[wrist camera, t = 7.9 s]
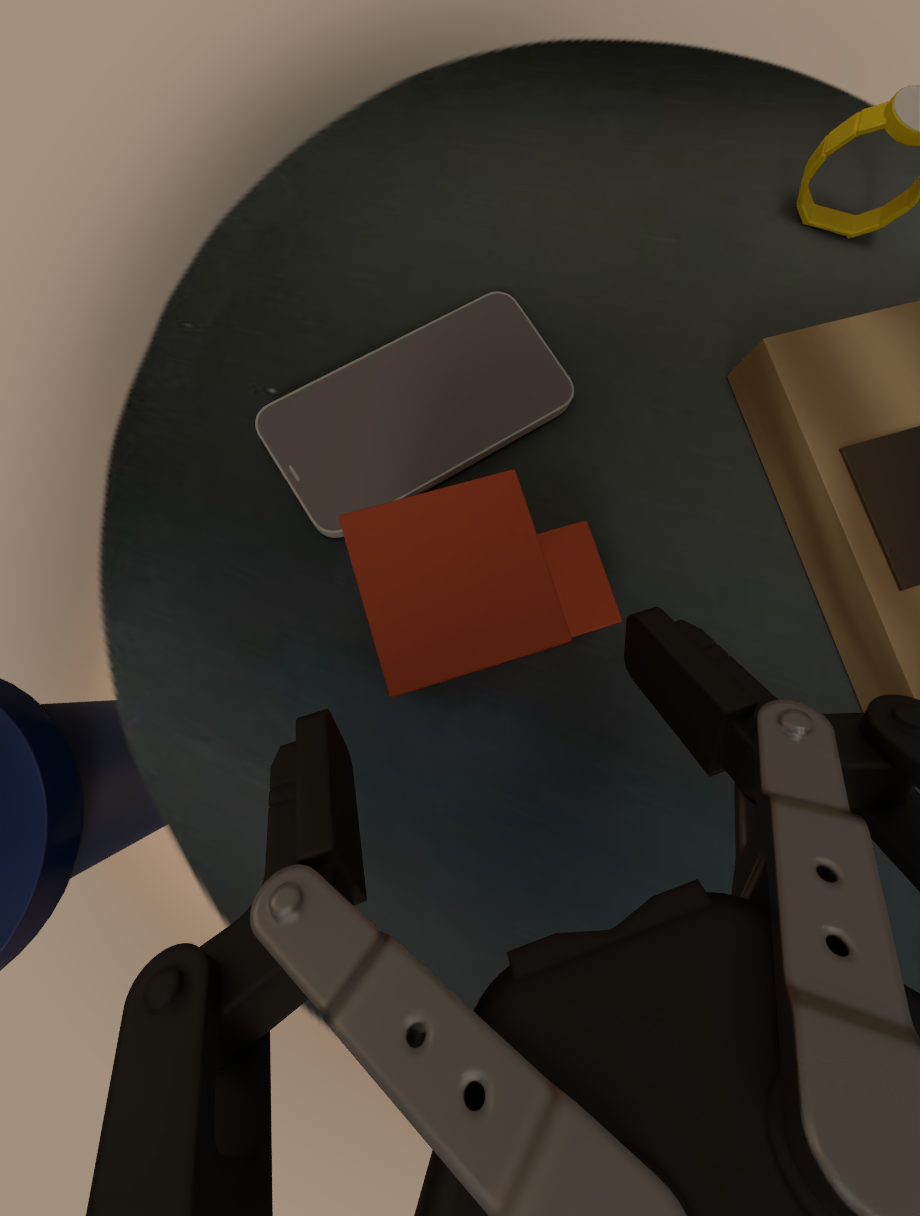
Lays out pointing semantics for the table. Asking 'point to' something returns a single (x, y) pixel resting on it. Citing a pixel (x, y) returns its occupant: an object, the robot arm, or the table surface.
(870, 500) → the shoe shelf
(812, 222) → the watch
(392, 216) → the table surface
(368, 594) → the boot
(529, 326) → the smartphone
